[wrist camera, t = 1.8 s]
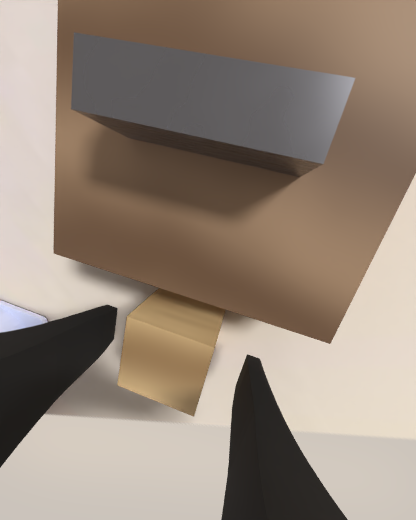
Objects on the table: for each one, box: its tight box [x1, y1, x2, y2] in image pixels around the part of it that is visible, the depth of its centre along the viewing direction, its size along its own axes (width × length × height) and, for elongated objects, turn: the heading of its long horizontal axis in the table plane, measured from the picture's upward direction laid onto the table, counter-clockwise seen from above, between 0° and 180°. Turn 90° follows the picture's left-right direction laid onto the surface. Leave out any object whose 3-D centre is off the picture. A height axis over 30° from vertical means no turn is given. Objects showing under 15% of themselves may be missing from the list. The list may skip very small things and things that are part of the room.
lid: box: [54, 0, 416, 344], centre depth 6 cm, size 14×12×4 cm
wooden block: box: [117, 288, 225, 416], centre depth 12 cm, size 4×4×5 cm
